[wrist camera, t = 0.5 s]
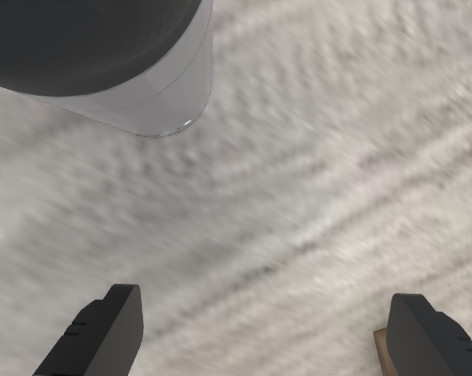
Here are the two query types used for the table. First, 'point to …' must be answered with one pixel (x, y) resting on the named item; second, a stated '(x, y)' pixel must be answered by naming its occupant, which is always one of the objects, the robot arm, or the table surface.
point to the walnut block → (384, 353)
